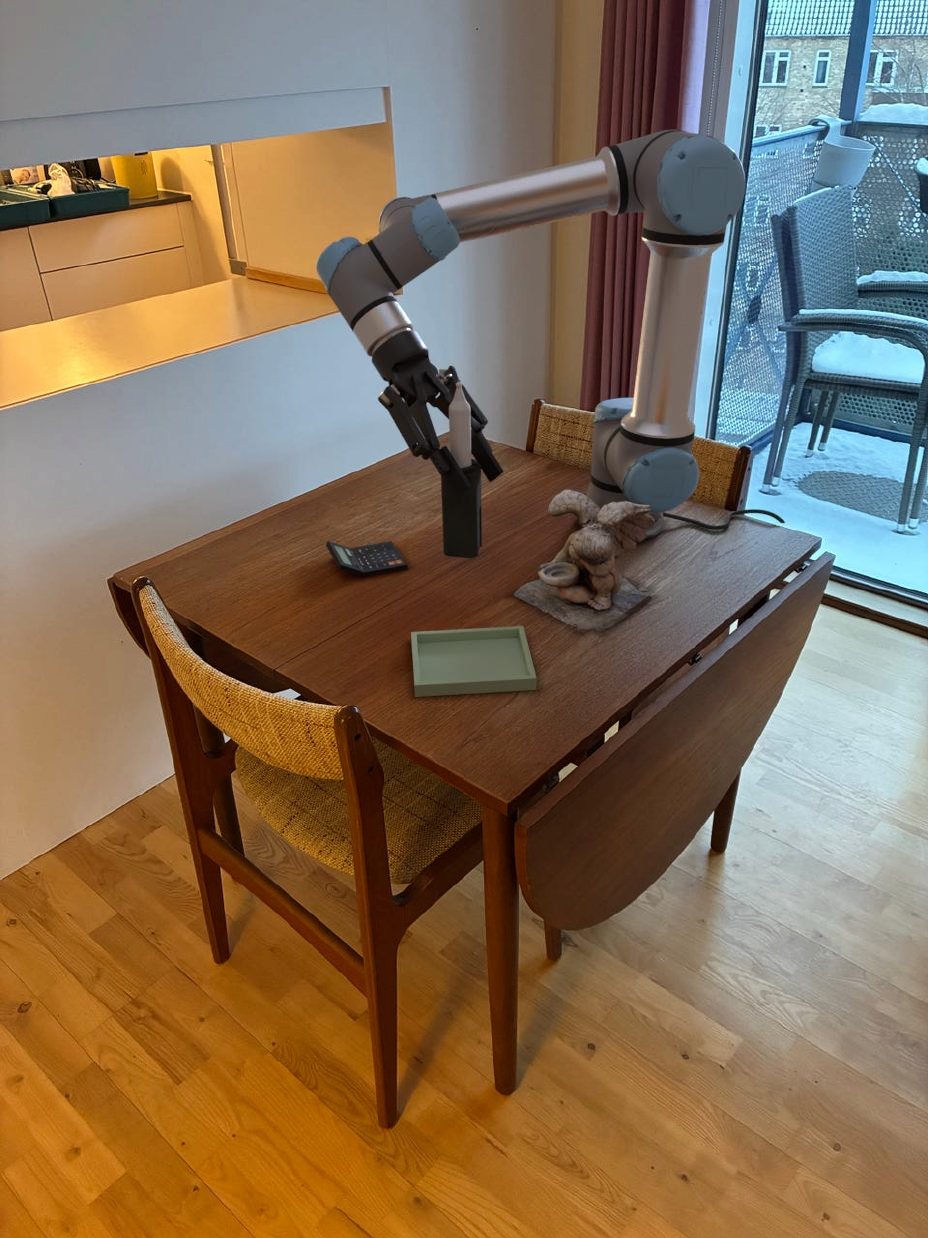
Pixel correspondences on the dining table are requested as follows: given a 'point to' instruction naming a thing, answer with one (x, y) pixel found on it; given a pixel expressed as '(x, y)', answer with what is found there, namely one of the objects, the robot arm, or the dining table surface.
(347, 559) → the calculator
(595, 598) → the cherub figurine
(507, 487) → the dining table surface
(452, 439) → the candle
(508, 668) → the tray
